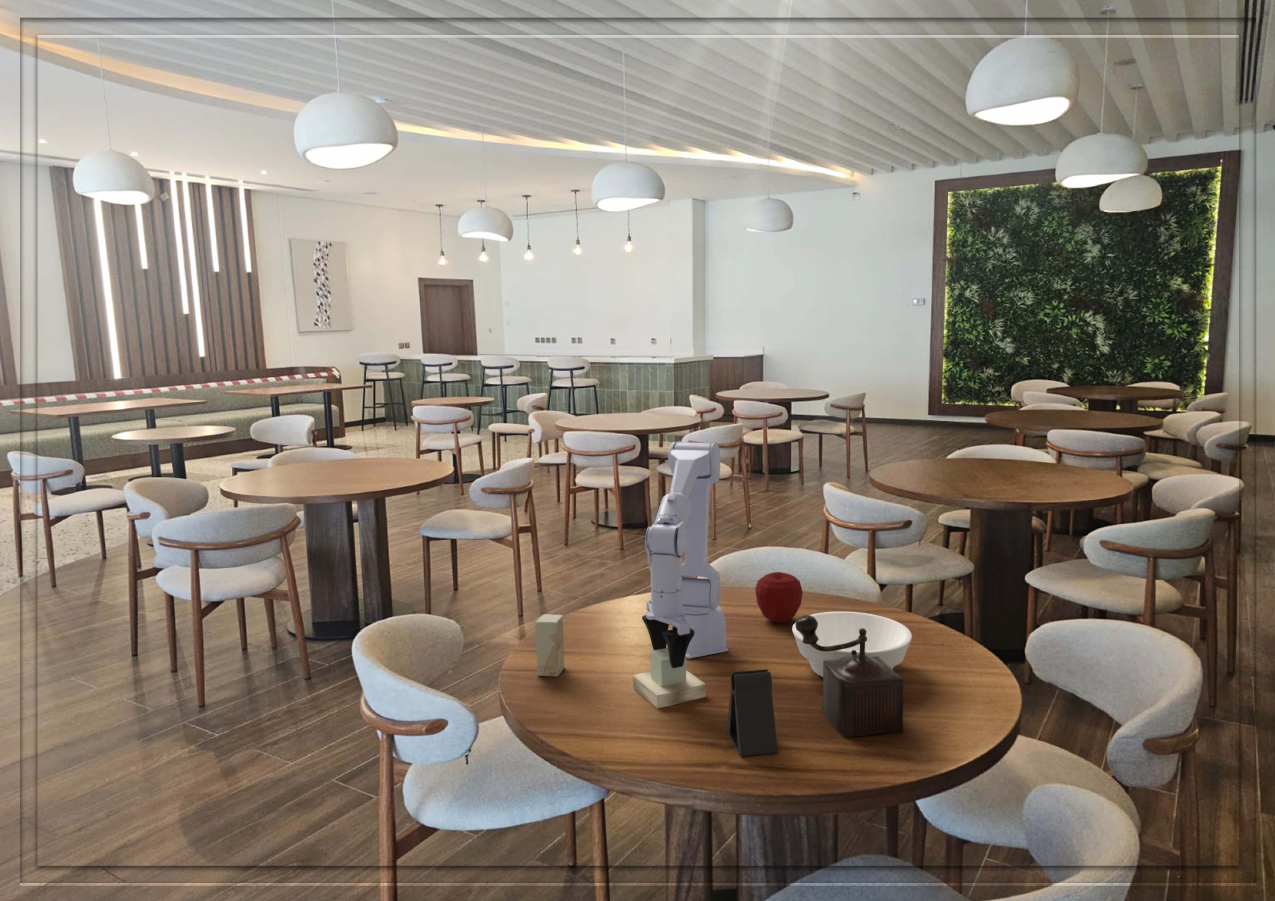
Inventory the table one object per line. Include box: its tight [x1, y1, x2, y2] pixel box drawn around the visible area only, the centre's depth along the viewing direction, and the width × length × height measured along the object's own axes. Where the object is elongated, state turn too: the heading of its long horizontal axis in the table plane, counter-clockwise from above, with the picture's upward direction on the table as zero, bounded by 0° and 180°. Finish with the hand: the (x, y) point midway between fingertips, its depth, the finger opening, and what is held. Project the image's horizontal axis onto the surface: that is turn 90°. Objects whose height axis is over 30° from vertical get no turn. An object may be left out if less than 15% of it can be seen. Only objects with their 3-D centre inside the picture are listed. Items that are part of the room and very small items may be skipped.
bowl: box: [791, 611, 913, 678], centre depth 157 cm, size 22×22×8 cm
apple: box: [754, 571, 804, 624], centre depth 186 cm, size 11×11×12 cm
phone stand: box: [726, 668, 779, 758], centre depth 130 cm, size 9×6×12 cm, turn 7°
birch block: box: [632, 669, 707, 709], centre depth 150 cm, size 10×10×3 cm
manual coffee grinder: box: [795, 614, 904, 739], centre depth 136 cm, size 16×11×18 cm
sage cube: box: [649, 647, 687, 687], centre depth 150 cm, size 5×5×5 cm
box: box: [535, 613, 565, 677], centre depth 161 cm, size 5×4×11 cm
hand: (668, 659), depth 150 cm, fingers open, 7 cm apart
